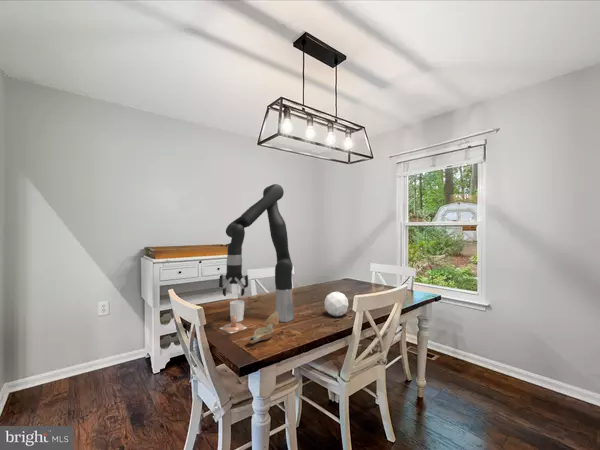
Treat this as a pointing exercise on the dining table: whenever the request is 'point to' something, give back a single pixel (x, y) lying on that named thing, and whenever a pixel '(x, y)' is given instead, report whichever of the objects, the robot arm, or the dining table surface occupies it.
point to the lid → (233, 325)
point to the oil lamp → (265, 329)
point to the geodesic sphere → (336, 303)
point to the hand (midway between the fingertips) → (233, 295)
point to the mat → (233, 332)
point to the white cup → (237, 309)
